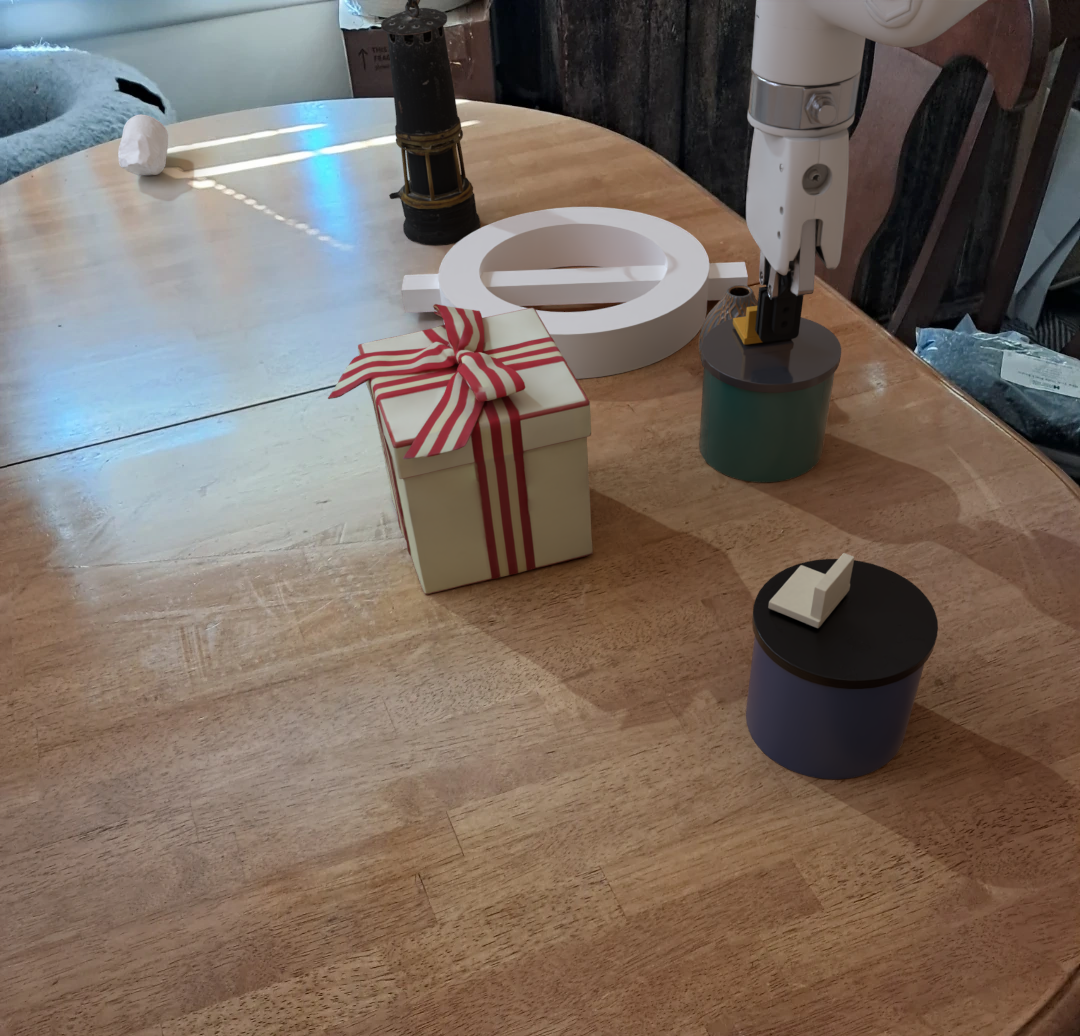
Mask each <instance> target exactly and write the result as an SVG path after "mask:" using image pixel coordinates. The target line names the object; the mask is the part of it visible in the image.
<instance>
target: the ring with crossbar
mask: <svg viewBox="0 0 1080 1036" xmlns="http://www.w3.org/2000/svg"><path fill="white" fill-rule="evenodd" d="M709 259H710V258H709V256H708V253H707V251H706V249H705V247H704V246H703V244H702V243H701V242H700V241H699V240H698V239H697V238H696V236H694V235H693V234H692V233H690V232H689V231H687V230H686V229H684V228H682V227H681V226H679V225H677V224H675V223H673V222H670V221H669V220H667V219H663V218H661V217H657V216H655V215H652V214H651V215H650V214H649V213H645V212H640V211H636V210H635V211H634V210H630V209H629V210H628V209H621V208H616V207H615V208H614V207H603V206H569V207H554V208H547V209H539V210H536V211H529V212H524V213H520V214H516V215H512V216H509V217H505V218H502V219H499V220H497V221H494V222H491V223H488V224H486V225H484V226H482V227H479V229H478V230H476V231H474V232H472V233H471V234H469V235H467V236H466V237H464V238H463V239H461V240H460V241H459V242H456V243H454V245H453V246H452V247H451V248H450V249H449V250H448V251H447V252H446V254H445V255H444V256H443V258H442V260H441V263H439V268H438V273H421V274H404V275H403V280H402V285H401V297H402V304H403V310H404V314H409V313H432V312H433V313H434V311H436V310H435V309H434V307H433V305H435V304H438V305H443V306H449V307H455V308H463V309H470V310H476V311H480V313H481V316H482V318H484V317H489V316H494V315H499V314H504V313H508V312H513V311H518V310H523V309H527V308H528V307H531V306H532V307H533V306H557V305H558V306H559V305H560V306H561V305H585V304H612V303H620V304H617V305H613V306H608V307H605V308H604V307H603V308H599V309H593V310H586V311H585V310H584V311H565V312H564V311H547V310H538V309H535V310H536V312H537V313H538V315H539V317H540V319H541V320H542V322H543V324H544V325H545V327H546V329H547V331H548V332H549V334H550V336H551V337H552V339H553V340H554V342H555V344H556V346H557V347H558V349H559V351H560V352H561V354H562V356H563V357H564V359H565V360H566V362H567V365H568V366H569V368H570V369H571V371H572V373H573V374H574V376H575V378H576V380H583V379H593V378H601V377H609V376H614V375H618V374H619V375H620V374H623V373H624V374H625V373H627V372H632V371H635V370H638V369H641V368H644V367H647V366H650V365H653V364H655V363H658V362H659V361H662V360H664V359H666V358H668V357H669V356H671V355H673V354H675V353H677V352H679V351H680V350H681V349H682V348H684V347H685V346H686V345H688V344H689V343H690V342H691V341H692V340H693V339H694V338H695V337H696V336H697V335H698V334H699V332H700V331H701V329H702V326H703V323H704V321H705V318H706V317H707V312H708V301H720V300H721V299H722V298H723V296H724V295H725V293H726V291H727V289H728V288H729V287H731V286H735V285H744V286H748V280H749V276H748V270H747V266H746V262H745V261H735V262H734V261H733V262H731V261H730V262H710V260H709ZM564 267H575V268H564ZM576 267H577V268H576ZM436 312H437V311H436ZM442 320H443V319H442ZM443 325H445V323H444V320H443Z"/></svg>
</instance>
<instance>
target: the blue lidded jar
mask: <svg viewBox="0 0 1080 1036" xmlns="http://www.w3.org/2000/svg"><path fill="white" fill-rule="evenodd" d="M838 559H839V558H822V559H821V558H820V559H814V560H809V561H805V562H804V561H803V562H801V563H798V564H794V565H791V566H789V567H786V568H785V569H782V570H781V571H779V572H777V573H775V575H773V576H772V577H770V578H769V579H768V580H767V581H766V582H765V583H764V584H763V585H762V587H761V588H760V589H759V591H758V592H757V595H756V597H755V600H754V602H753V606H752V607H753V608H752V618H751V623H752V624H751V625H752V631H753V634H754V639H753V646H752V647H753V648H752V655H751V664H750V673H749V674H750V675H749V681H748V690H747V699H746V708H745V722H746V726H747V730H748V733H749V734H750V736H751V738H752V740H753V741H754V743H755V745H756V746H757V747H758V748H759V749H760V750H761V752H763V754H764V755H766V756H767V757H768V758H769V759H771V760H772V761H773V762H775V763H776V764H778V765H780V766H781V767H783V768H785V769H787V770H789V771H792V772H794V773H796V774H800V775H803V776H806V777H810V778H815V779H823V780H846V779H853V778H857V777H861V776H865V775H868V774H871V773H873V772H875V771H878V770H880V769H882V767H884V766H885V765H887V764H888V763H889V762H890V761H891V760H893V759H894V757H895V756H897V754H898V753H899V751H900V749H901V747H902V746H903V743H904V741H905V737H906V733H907V731H908V725H909V722H910V719H911V715H912V711H913V707H914V703H915V701H916V696H917V693H918V689H919V685H920V682H921V677H922V674H923V671H924V666H925V664H926V662H927V661H928V660H929V658H930V657H931V655H932V653H933V651H934V648H935V645H936V642H937V639H938V632H939V623H938V622H939V621H938V616H937V613H936V610H935V608H934V606H933V604H932V603H931V601H930V600H929V598H928V597H927V595H926V594H925V593H924V592H923V591H922V590H921V589H920V588H919V587H918V586H917V585H915V584H914V583H913V582H912V581H910V580H909V579H907V578H906V577H904V576H903V575H900V573H899V574H898V573H897V572H896V571H893V570H891V569H889V568H886V567H883V566H881V565H877V564H875V563H870V562H867V561H862V560H856V559H854V563H853V568H852V573H851V578H850V589H849V591H848V593H847V594H846V595H845V596H844V598H843V599H842V600H841V601H840V602H839V604H838V605H837V606H836V607H835V609H834V610H833V611H832V612H831V614H830V615H829V616H828V617H827V618H826V620H825V621H824V622H823V623H822V625H821V626H820V627H819V628H816V627H813V626H811V625H808V624H806V623H803V622H801V621H799V620H796V619H794V618H791V617H789V616H786V615H784V614H781V613H779V612H777V611H774V610H772V609H769V608H768V607H769V601H770V600H771V599H772V598H773V597H774V595H775V594H776V593H777V592H778V591H779V590H780V589H781V587H782V586H783V585H784V584H785V583H786V582H787V581H788V579H789V578H790V577H791V576H792V575H793V574H794V572H795V571H796V570H797V569H798V568H799V567H800V566H801V565H802V566H805V567H808V568H810V569H813V570H815V571H818V572H821V573H823V574H826V573H827V572H828V571H829V569H830V568H831V567H832V566H833V565H834V563H835V562H836V561H837V560H838Z"/></svg>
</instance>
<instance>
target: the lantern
mask: <svg viewBox="0 0 1080 1036" xmlns="http://www.w3.org/2000/svg"><path fill="white" fill-rule="evenodd" d="M420 2H421V0H407V2H406V3H405V5H404V11H400V12H397V13H395V14H393V15H390V16H388V17H387V18H385V19H383V20H382V22H380V28H381V30H382V31H383V32H384V33H386V36H387V37H386V38H387V46H388V54H389V62H390V63H389V65H390V74H391V84H392V92H393V93H392V94H393V102H394V111H395V126H394V131H395V137H396V138H395V143H396V145H397V146H398V148H400V151H401V152H400V153H401V162H402V170H403V180H404V185H403V186H402V187H401V188H400V189H399V190H398V191H396V192H391V193H389V194H388V197H389V199H391V200H397V199H398V200H399V199H400V203H401V206H402V211H403V217H404V220H403V224H402V228H403V233H404V235H405V237H406V238H407V239H409V240H410V241H412V242H414V243H417V244H420V245H426V246H427V245H428V246H446V245H451V244H456V243H458V242H459V241H460V240H461V239H463V238H464V237H466V236H467V235H469V234H471V233H472V232H474V231H476V230H478V229H480V228H481V219H480V216H479V213H478V212H477V204H476V198H475V197H476V196H475V193H474V186H473V184H472V182H470V181H469V179H468V177H466V170H465V169H466V168H465V163H464V156H463V150H462V145H461V140H462V139H463V138H464V137H463V136H464V132H463V129H462V123H461V119H460V116H459V115H458V114H459V113H458V108H457V101H456V94H455V88H454V82H453V76H452V70H451V64H450V58H449V52H448V46H447V45H448V44H447V40H446V39H447V38H446V33H445V28H444V26H445V25H446V23H448V15H447V14H446V13H444V12H443V11H441V10H440V9H435V8H429V7H420V6H419V5H420Z"/></svg>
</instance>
